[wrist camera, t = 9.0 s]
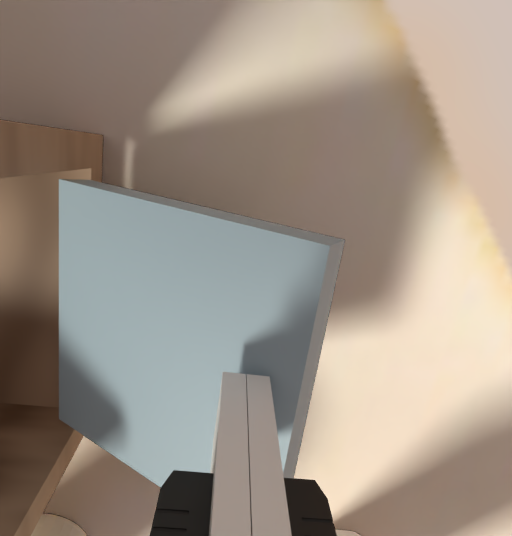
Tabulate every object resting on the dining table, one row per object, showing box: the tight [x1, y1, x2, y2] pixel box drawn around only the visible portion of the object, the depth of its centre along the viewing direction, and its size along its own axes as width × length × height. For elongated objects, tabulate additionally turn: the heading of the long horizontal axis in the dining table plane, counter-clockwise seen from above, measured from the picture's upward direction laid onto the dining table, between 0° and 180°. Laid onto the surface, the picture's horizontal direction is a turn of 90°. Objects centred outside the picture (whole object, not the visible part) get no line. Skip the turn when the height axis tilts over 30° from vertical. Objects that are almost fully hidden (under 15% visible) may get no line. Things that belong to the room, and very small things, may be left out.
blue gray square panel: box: [59, 179, 345, 487], centre depth 16 cm, size 2×12×12 cm
